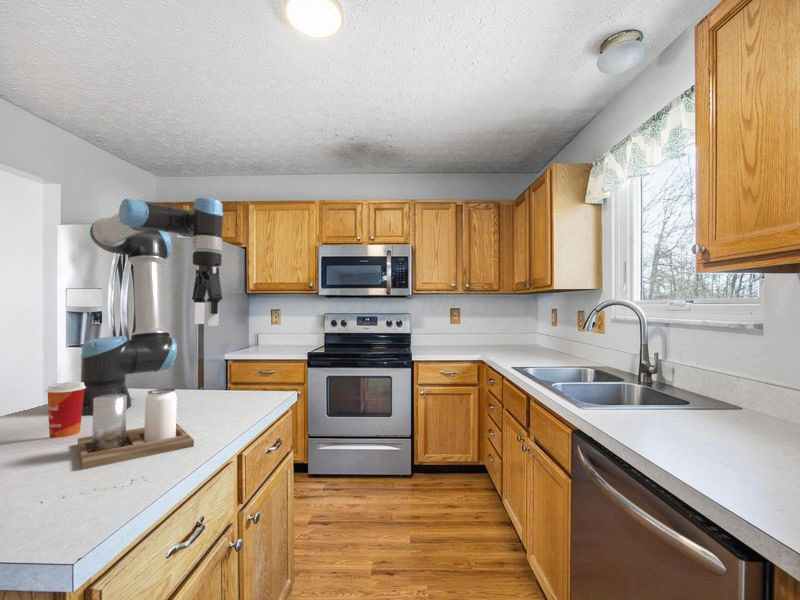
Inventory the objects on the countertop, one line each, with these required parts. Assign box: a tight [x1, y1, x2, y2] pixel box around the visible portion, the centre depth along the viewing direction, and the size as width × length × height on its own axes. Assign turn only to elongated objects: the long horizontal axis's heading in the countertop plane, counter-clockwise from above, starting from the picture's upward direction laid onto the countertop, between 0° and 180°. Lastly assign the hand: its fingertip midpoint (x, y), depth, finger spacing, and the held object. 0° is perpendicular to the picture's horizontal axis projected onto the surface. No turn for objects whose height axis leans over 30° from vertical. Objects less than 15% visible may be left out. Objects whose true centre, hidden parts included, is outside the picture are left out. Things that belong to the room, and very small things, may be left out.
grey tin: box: [91, 394, 128, 452], centre depth 86 cm, size 6×6×12 cm
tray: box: [77, 422, 195, 470], centre depth 89 cm, size 18×20×3 cm
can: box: [144, 388, 178, 442], centre depth 93 cm, size 6×6×12 cm
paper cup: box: [45, 381, 86, 439], centre depth 97 cm, size 8×8×14 cm
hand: (205, 325), depth 112 cm, fingers open, 13 cm apart
